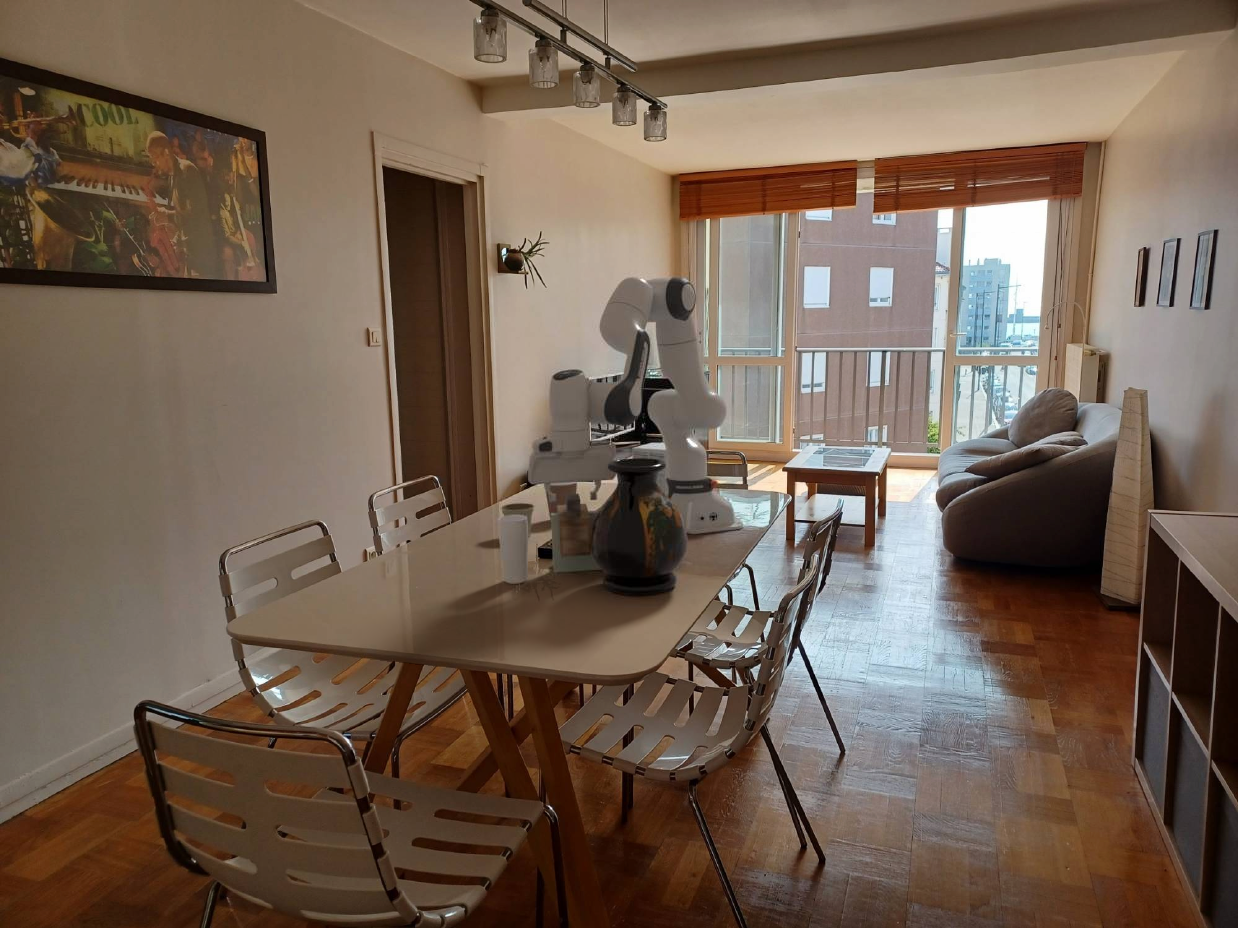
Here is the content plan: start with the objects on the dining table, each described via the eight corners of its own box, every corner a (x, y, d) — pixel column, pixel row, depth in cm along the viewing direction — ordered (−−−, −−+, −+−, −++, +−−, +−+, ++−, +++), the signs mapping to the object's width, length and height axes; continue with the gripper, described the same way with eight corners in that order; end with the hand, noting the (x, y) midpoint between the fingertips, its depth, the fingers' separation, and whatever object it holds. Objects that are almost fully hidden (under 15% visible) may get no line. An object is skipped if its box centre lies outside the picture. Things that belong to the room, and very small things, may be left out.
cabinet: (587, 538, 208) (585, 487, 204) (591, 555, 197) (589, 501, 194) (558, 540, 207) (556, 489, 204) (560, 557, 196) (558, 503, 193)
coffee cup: (586, 518, 258) (584, 479, 256) (566, 525, 249) (564, 485, 247) (558, 515, 263) (557, 476, 261) (538, 522, 255) (536, 482, 253)
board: (617, 561, 211) (615, 505, 208) (620, 568, 205) (618, 511, 202) (552, 565, 209) (550, 509, 206) (553, 572, 203) (551, 514, 201)
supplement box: (667, 503, 276) (666, 449, 273) (632, 499, 283) (631, 447, 280) (686, 495, 287) (686, 444, 284) (653, 492, 294) (652, 442, 291)
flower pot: (539, 532, 242) (537, 502, 241) (532, 540, 233) (530, 510, 232) (506, 532, 243) (504, 502, 242) (498, 541, 234) (497, 510, 233)
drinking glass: (535, 577, 199) (532, 515, 197) (522, 586, 193) (519, 521, 190) (509, 575, 201) (505, 513, 199) (496, 584, 195) (492, 520, 192)
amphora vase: (672, 605, 177) (669, 472, 172) (576, 596, 185) (571, 469, 180) (699, 575, 197) (697, 455, 192) (612, 568, 204) (608, 453, 200)
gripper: (614, 437, 200) (616, 495, 202) (526, 442, 197) (529, 500, 200) (617, 441, 193) (619, 500, 196) (526, 445, 191) (529, 506, 193)
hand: (573, 500), depth 198 cm, fingers open, 8 cm apart
